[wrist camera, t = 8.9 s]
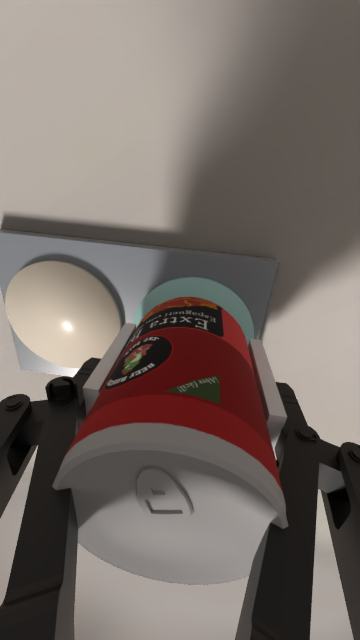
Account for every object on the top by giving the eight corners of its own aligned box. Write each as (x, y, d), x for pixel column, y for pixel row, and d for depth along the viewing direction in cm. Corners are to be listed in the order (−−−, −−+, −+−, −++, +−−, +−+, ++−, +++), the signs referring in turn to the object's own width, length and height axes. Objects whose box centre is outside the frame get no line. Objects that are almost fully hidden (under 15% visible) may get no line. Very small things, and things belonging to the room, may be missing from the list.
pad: (134, 372, 22) (132, 376, 21) (135, 269, 18) (132, 271, 17) (240, 386, 21) (241, 391, 21) (265, 284, 17) (267, 286, 17)
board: (29, 361, 24) (16, 373, 23) (-1, 228, 19) (-20, 232, 17) (241, 391, 23) (243, 406, 21) (274, 258, 18) (281, 265, 16)
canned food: (217, 272, 15) (228, 409, 6) (263, 371, 18) (324, 579, 8) (115, 319, 18) (-6, 477, 8) (169, 401, 20) (131, 593, 11)
